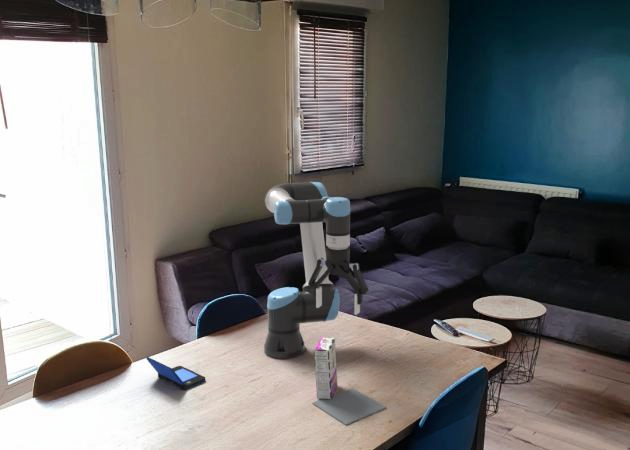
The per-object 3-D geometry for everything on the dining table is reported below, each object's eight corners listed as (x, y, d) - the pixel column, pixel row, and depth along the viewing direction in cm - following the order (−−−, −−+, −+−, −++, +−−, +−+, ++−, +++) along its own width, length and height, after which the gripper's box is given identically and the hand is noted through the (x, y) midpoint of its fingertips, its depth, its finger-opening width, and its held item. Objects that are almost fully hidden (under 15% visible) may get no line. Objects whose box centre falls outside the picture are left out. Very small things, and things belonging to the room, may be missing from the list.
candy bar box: (322, 384, 201) (320, 336, 198) (337, 384, 200) (335, 337, 197) (315, 399, 190) (313, 349, 187) (331, 400, 189) (329, 349, 186)
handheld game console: (207, 381, 204) (205, 356, 202) (173, 396, 195) (171, 369, 193) (180, 368, 215) (178, 343, 213) (146, 381, 205) (144, 355, 203)
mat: (312, 403, 188) (312, 402, 188) (352, 388, 197) (352, 387, 197) (345, 425, 175) (345, 424, 175) (386, 408, 185) (386, 407, 185)
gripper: (297, 244, 195) (298, 307, 200) (370, 254, 184) (369, 320, 189) (308, 239, 201) (309, 300, 206) (379, 248, 190) (378, 312, 195)
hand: (337, 309), depth 197 cm, fingers open, 13 cm apart
